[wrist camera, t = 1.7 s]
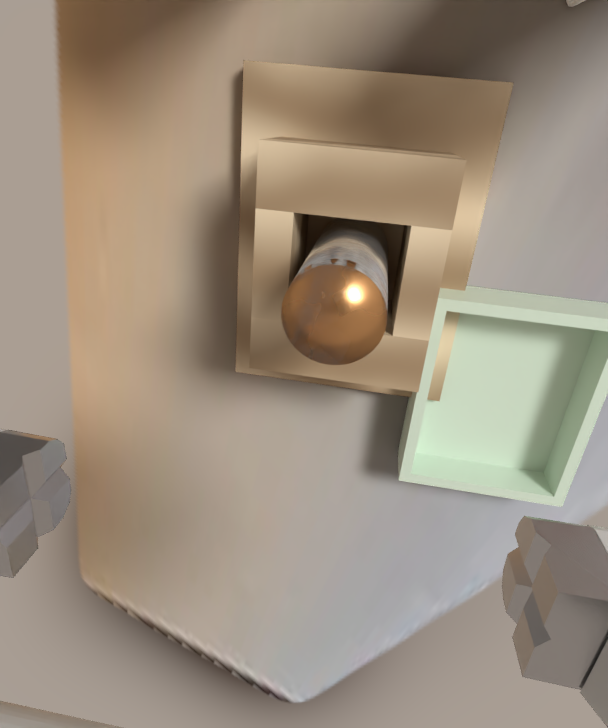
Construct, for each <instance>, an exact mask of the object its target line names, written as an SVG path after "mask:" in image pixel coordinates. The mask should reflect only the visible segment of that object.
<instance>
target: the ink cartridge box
mask: <svg viewBox="0 0 608 728" xmlns="http://www.w3.org/2000/svg"><path fill="white" fill-rule="evenodd" d="M583 1H585V0H566V2H567V5H568V6H569V7H573V6H575V5H578V4H579V3H581V2H583Z"/></svg>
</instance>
